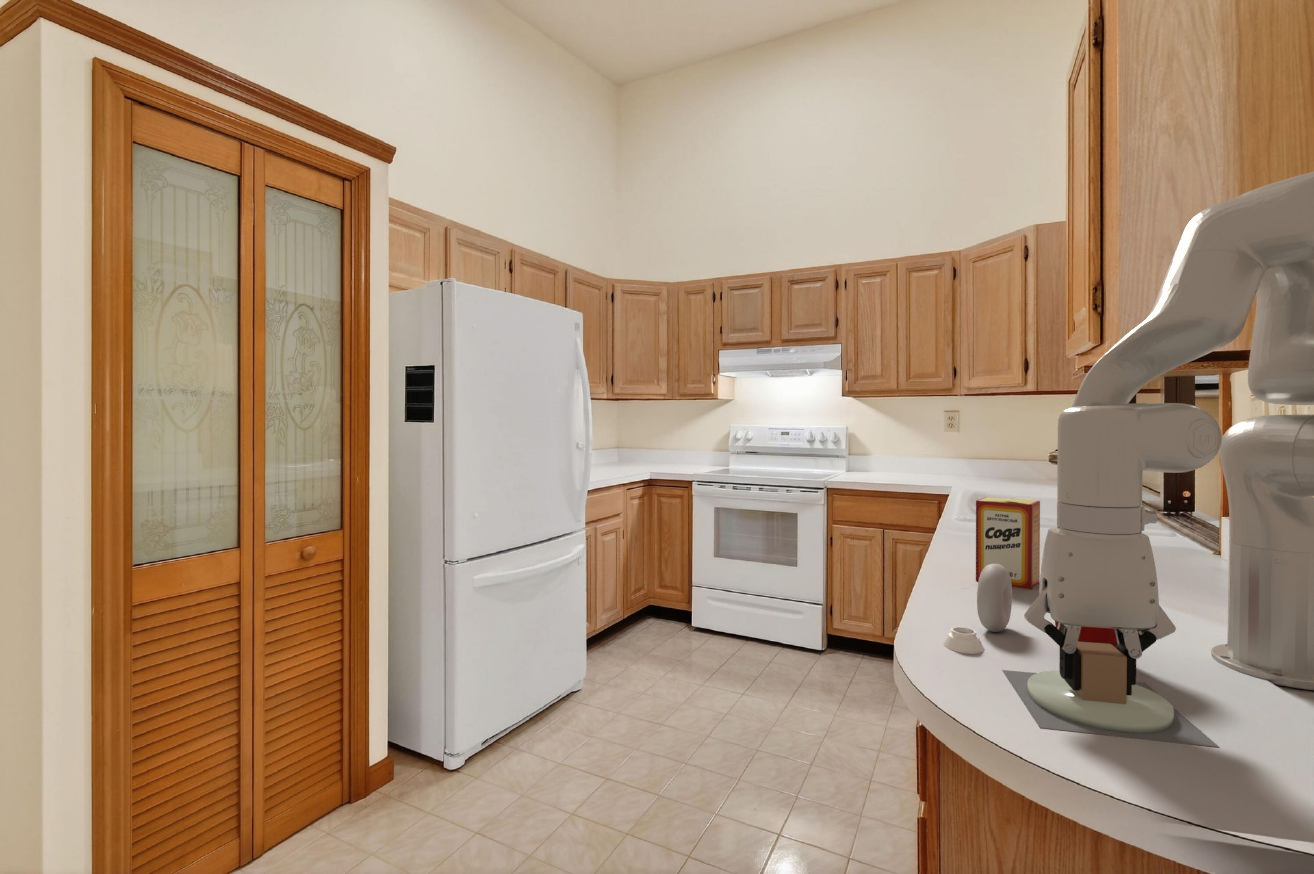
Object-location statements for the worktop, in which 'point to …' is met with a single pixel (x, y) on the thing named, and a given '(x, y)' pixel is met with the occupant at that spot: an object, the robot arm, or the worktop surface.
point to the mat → (1176, 733)
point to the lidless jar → (963, 640)
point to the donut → (994, 597)
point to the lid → (1102, 694)
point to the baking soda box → (1009, 538)
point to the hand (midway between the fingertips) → (1096, 686)
